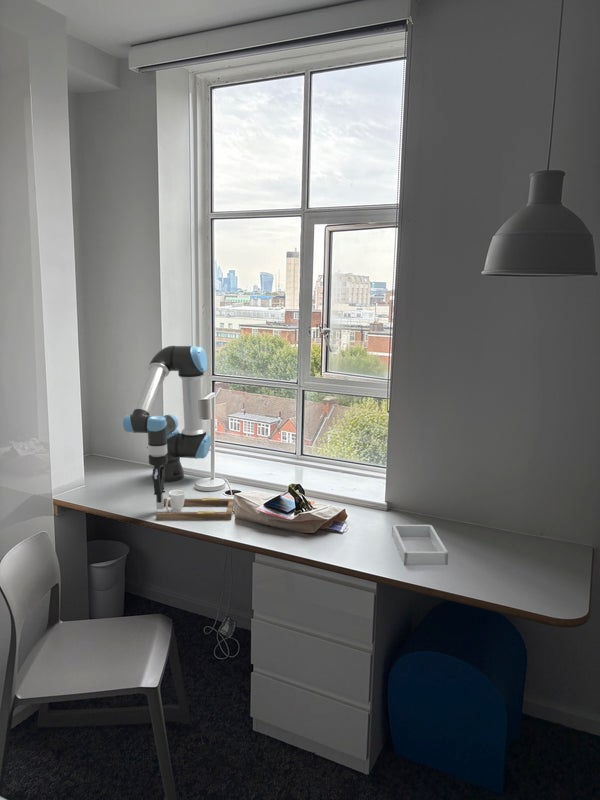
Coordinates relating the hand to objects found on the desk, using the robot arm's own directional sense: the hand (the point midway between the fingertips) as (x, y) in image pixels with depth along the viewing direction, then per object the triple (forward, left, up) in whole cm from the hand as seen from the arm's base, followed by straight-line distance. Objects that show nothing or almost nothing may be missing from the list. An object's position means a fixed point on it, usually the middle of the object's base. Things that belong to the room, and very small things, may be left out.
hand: (160, 508), depth 254 cm
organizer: (+37, +100, -1) cm, 107 cm away
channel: (0, +14, -1) cm, 14 cm away
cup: (0, +6, -2) cm, 6 cm away
